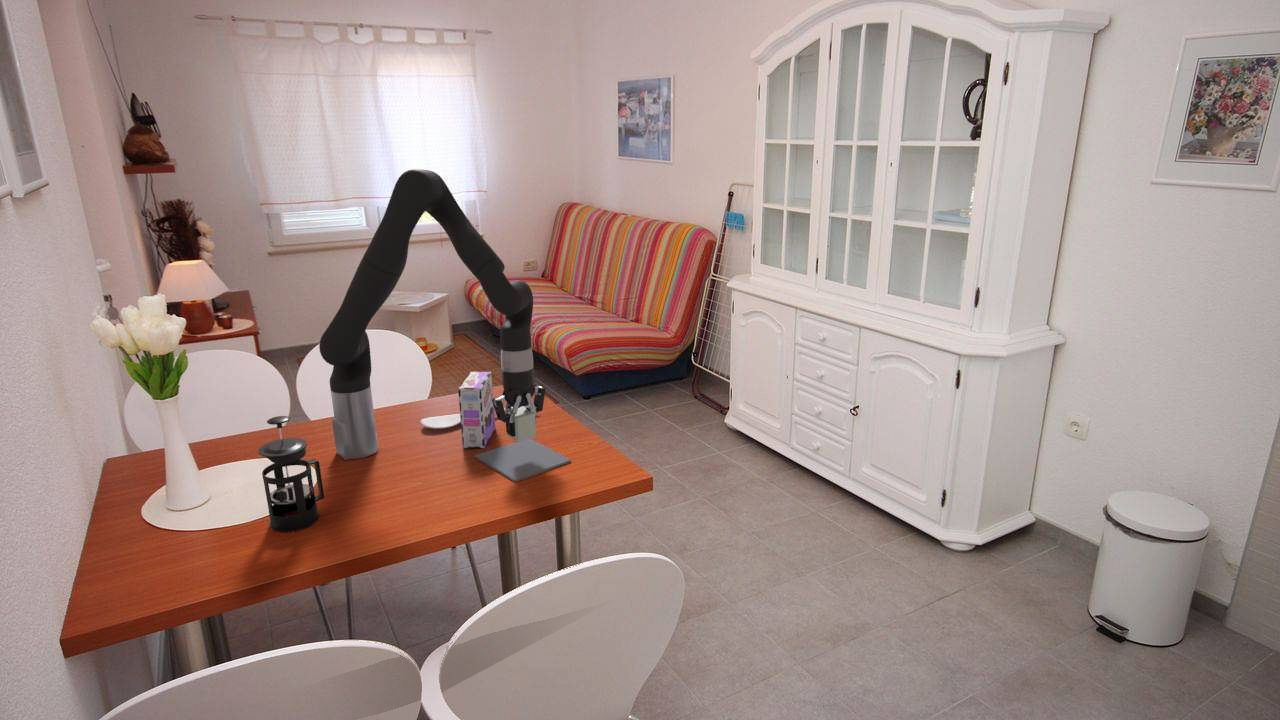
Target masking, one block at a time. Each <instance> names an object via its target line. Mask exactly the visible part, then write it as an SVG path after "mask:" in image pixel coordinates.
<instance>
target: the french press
mask: <svg viewBox="0 0 1280 720" xmlns="http://www.w3.org/2000/svg"><path fill="white" fill-rule="evenodd" d="M290 420H291V417H289V416H287V415H278V416H274V417H271V418H269V419H267V421H266V423H267V424H268V425H276V428H277V429H278V430H279V431H278V432H279V436H280V439H275V440H272V441H269V442H267V443H264V444H262V445H261V446H260V447H259V448H258V450H257V451H258V455H260V456H261V457H265V458H266V459H268V460H269V461H270V462H271V463H272V464H270V465H268V466H266V467H265V468H264V469H263V470H262V473H261V475H262V479H263V485H264V491H265V496H266V501H267V508H268V514H269V515H268V516H269V521H270V522H269V527H270V529H271V528H272V529H273V530H272V529H271V530H272V531H274V532H277V531H279V532H278V533H293V532H292V531H294V532H298V531H297V530H299V531H302V530H305V529H307V528H309V527H311V526H313V525H314V524H316V523H317V522H318V520H319V519H320V512H319V511H318V506H317V502H319V501H321V500H324V499H325V493H324V485H323V479H322V474H321V466H320V461H319V460H317V459H316V458H312V459H309V460H306V459H303V458H304V457H305V456H306V454H307V451H306V448H307V446H308V441H307V440H306V439H303V438H300V437H285V438H283V433H282V428H283V424H285V423H288V422H289V421H290ZM311 465H314V470H315V476H316V483H317V489H318V495H316V496H315V490H314V483H313V482H314V481H313V476H312V467H311ZM291 466H301V467H302V466H303V467H305V470H304V471H301V472H300V473H297V474H295V475H291V476H289V471H288V467H291ZM283 468H285V474H286V477H285V474H284V470H283ZM272 471H273V474H274V477H269V476H266V475H268V474H269V473H271V472H272ZM305 478H307V484H306V483H303V480H304V479H305ZM269 485H275V486H276V487H275V488H276V489H274V490H272V491H271V492H270V486H269ZM293 513H297V515H292V516H286V515H289V514H293ZM316 521H317V522H316ZM315 522H316V523H315ZM304 528H305V529H304ZM301 529H302V530H301Z"/></svg>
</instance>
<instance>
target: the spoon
mask: <svg viewBox="0 0 1280 720" xmlns="http://www.w3.org/2000/svg"><path fill="white" fill-rule="evenodd" d="M511 408H512V409H513V407H511ZM521 408H525V407H524V406H522V407H520V408H518V409H521ZM525 409H526V408H525ZM504 410H505V407H504ZM494 411H495V409H494ZM505 412H506V410H505ZM459 424H461V418H460V413H455V414H453V413H452V414H446V415H437V416H436V415H435V416H430V417H425V418H424V417H423V418H422V419H421V420H420V425H421V426H423V427H424V428H427V429H433V430H445V429H450V428H452V427H455V426H457V425H459Z"/></svg>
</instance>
